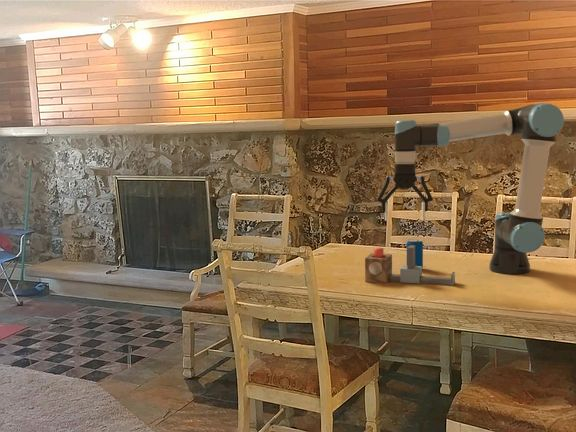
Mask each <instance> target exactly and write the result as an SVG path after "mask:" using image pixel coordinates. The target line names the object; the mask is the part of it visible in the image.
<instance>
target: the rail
mask: <svg viewBox="0 0 576 432" xmlns="http://www.w3.org/2000/svg"><path fill="white" fill-rule="evenodd" d="M388 282H400V273H399V274H397V273H392V274H389V276H388ZM400 283H401V282H400ZM455 283H456V272H455V271H452V273H451V275H450V277H447V276H445V277H444V276H443V277H442V276H432V275H431V276H429V275H422V276H420V283H419V284H427V285H432V284H433V285H444V286H451V287H453V286H454V285H455Z"/></svg>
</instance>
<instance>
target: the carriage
mask: <svg viewBox="0 0 576 432" xmlns="http://www.w3.org/2000/svg"><path fill="white" fill-rule="evenodd" d="M399 271H400V273H399V274H400V283H407V284H408V283H411V284H421V283H420V276H423V268H422V266H415V245H410V246H409V247H408V248H407V247H406V264H404V265H402V266H401V267H400V269H399Z"/></svg>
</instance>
